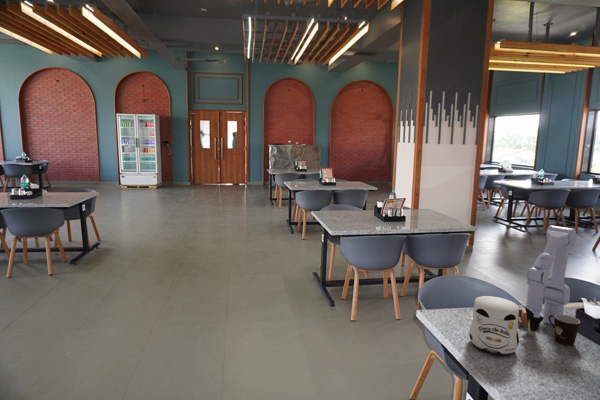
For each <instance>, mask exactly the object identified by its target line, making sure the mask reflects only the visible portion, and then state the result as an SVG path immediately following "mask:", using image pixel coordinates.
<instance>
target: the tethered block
mask: <svg viewBox="0 0 600 400" xmlns="http://www.w3.org/2000/svg"><path fill="white" fill-rule="evenodd" d="M521 310H522V312H521V320H522V327H527V335H529V336H536V332H534V331H531V330H530V321H529V323H528V322H527V314H526V310H525V308H521Z"/></svg>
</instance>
